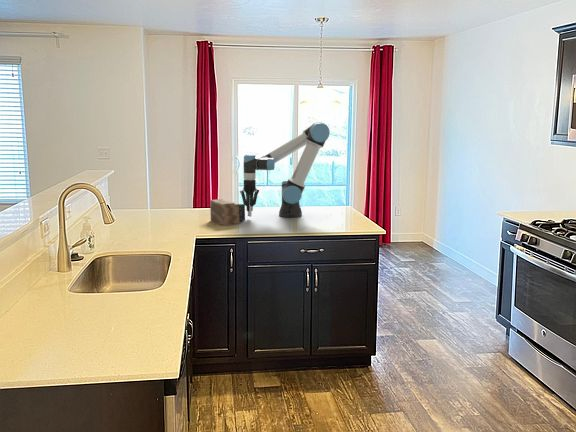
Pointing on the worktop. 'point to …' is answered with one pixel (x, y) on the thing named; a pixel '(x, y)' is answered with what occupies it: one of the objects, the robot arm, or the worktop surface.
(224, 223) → the brown patterned block
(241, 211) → the small box
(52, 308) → the worktop surface
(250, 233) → the worktop surface
